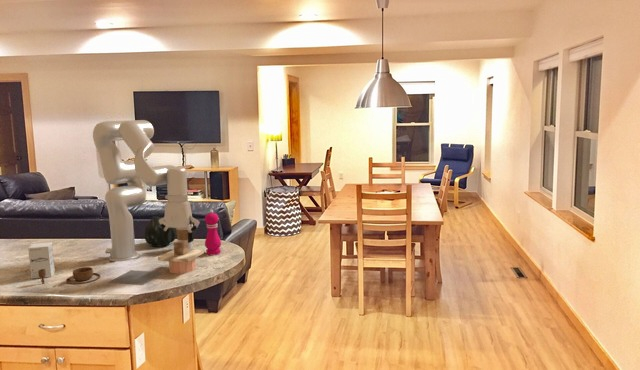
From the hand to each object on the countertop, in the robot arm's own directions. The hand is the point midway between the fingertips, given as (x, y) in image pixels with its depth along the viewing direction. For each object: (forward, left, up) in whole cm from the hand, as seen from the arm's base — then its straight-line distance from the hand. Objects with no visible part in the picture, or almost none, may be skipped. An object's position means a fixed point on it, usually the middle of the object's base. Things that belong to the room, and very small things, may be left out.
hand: (179, 240), depth 202 cm
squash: (-31, +36, -13) cm, 49 cm away
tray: (-13, -12, -12) cm, 21 cm away
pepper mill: (+1, +26, -13) cm, 29 cm away
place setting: (-36, -18, -13) cm, 42 cm away
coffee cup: (-15, +30, -13) cm, 35 cm away
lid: (0, 0, -6) cm, 6 cm away
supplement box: (-53, -15, -13) cm, 56 cm away
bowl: (0, 0, -12) cm, 12 cm away
